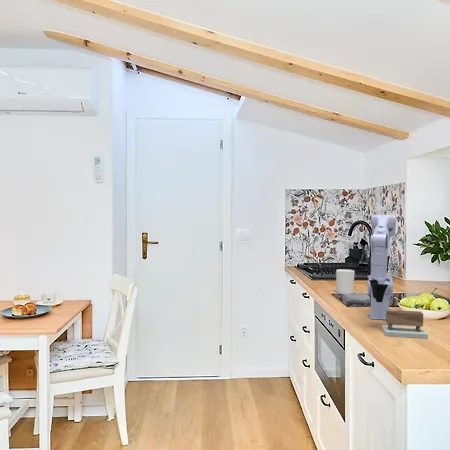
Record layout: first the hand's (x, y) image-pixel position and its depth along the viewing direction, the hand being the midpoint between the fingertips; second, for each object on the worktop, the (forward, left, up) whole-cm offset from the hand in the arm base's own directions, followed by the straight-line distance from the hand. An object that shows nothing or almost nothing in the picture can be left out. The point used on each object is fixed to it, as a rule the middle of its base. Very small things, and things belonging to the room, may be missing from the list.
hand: (377, 300), depth 184 cm
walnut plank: (+10, +8, -6) cm, 14 cm away
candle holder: (-73, -7, -10) cm, 74 cm away
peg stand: (+10, +8, -10) cm, 16 cm away
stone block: (-49, -3, -10) cm, 50 cm away
